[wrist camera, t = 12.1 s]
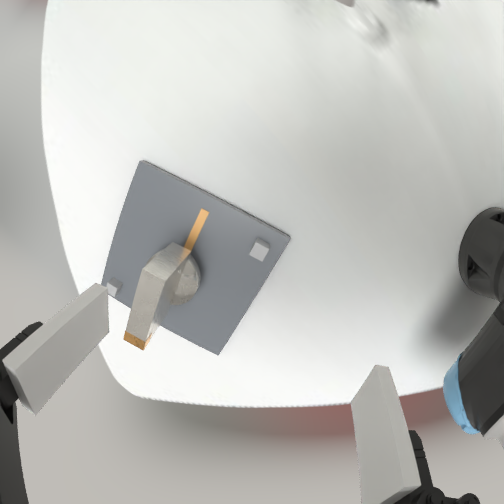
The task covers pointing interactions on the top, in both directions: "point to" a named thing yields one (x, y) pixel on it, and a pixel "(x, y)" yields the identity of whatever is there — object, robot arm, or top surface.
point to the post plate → (192, 253)
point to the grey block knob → (161, 291)
